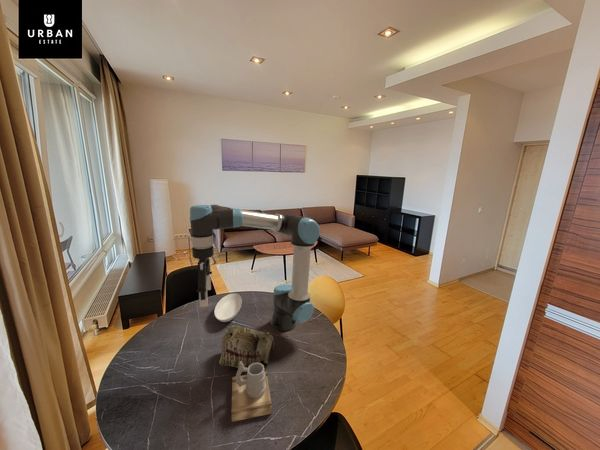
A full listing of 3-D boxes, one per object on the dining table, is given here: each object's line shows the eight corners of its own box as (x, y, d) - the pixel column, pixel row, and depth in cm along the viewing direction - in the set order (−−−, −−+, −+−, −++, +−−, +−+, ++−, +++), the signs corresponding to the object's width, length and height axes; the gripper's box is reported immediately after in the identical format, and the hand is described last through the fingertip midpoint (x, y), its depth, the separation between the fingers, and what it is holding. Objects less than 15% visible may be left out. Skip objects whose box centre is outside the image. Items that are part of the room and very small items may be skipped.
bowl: (236, 329, 136) (236, 319, 135) (209, 329, 135) (208, 319, 134) (245, 301, 165) (245, 293, 164) (222, 301, 164) (222, 293, 163)
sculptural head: (277, 321, 124) (228, 313, 123) (273, 341, 102) (214, 332, 102) (272, 354, 124) (223, 347, 124) (267, 381, 103) (208, 373, 102)
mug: (263, 400, 91) (263, 373, 88) (232, 396, 92) (231, 369, 89) (268, 383, 98) (268, 357, 96) (239, 380, 99) (238, 354, 97)
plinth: (266, 378, 104) (266, 370, 103) (271, 413, 89) (271, 404, 88) (232, 384, 101) (232, 376, 100) (231, 422, 86) (231, 412, 85)
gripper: (196, 238, 103) (199, 284, 108) (186, 257, 80) (190, 316, 84) (215, 237, 105) (217, 283, 110) (210, 256, 82) (213, 313, 86)
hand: (205, 297), depth 97 cm, fingers open, 13 cm apart
